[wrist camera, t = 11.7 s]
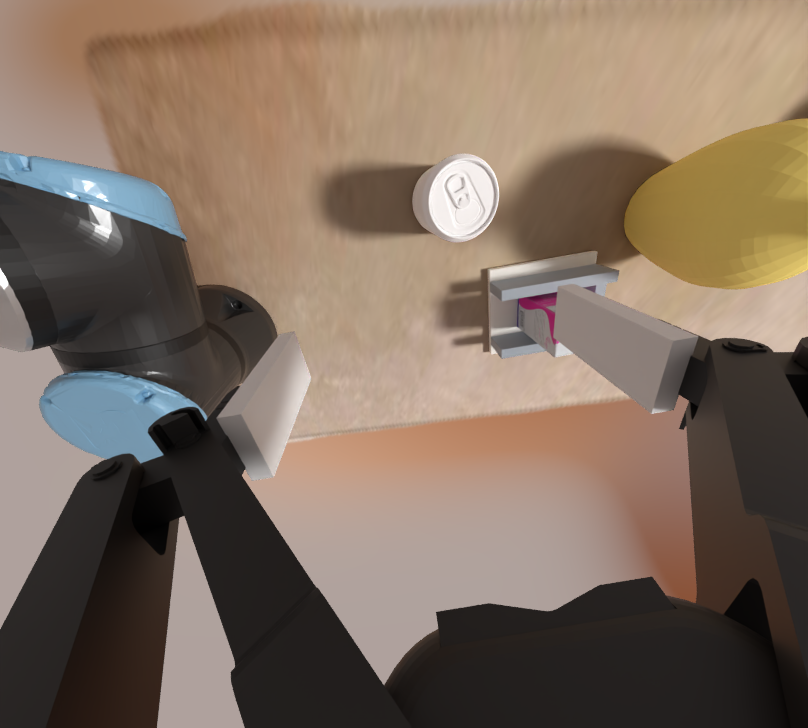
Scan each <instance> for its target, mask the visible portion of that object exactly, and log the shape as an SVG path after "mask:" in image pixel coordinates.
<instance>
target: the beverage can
mask: <svg viewBox="0 0 808 728" xmlns="http://www.w3.org/2000/svg"><path fill="white" fill-rule="evenodd" d="M498 201H499V187H498V182H497V179H496V176H495V174H494V172H493V170H492V169H491V167H490V166H489V165H488V164H487V163H486V162H485V161H484V160H482V159H481V158H479V157H477V156H475V155H471V154H456V155H452V156H449V157H447V158H445V159H444V160H442V161H441V162H439V163H438V164H436V165H435V166H433V167H431V168H430V169H428V170H427V171H426V172H425V173H424V174H423V175H422V176H421V177H420V178H419V180H418V182H417V183H416V186H415V188H414V192H413V198H412V205H413V211H414V214H415V216H416V219H417V220H418V222H419V223H420V224H421V226H422V227H424V228H425V229H426V230H428V231H429V232H431V233H433V234H435V235H436V236H438V237H440V238H441V239H444V240H446V241H450V242H464V241H468V240H470V239H473V238H475V237H476V236H478V235H479V234H481V233H482V232H483V231H484V230H485V229H486V228H487V227H488V225H489V224H490V222H491V221H492V219H493V217H494V215H495V213H496V210H497V206H498Z"/></svg>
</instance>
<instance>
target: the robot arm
mask: <svg viewBox="0 0 808 728" xmlns="http://www.w3.org/2000/svg"><path fill="white" fill-rule="evenodd" d="M185 242H187V239H186V236H185V235H184V234H183V233H182V231H181V228H180V225H179V222H178V219H177V215H176V212H175V209H174V206H173V203H172V201H171V199H170V198H169V196H168V195H167V194H166V193H165V192H164V191H163V190H162V189H161V188H160V187H158V186H157V185H155V184H153V183H151V182H149V181H147V180H144V179H141V178H138V177H134V176H131V175H127V174H123V173H119V172H114V171H110V170H106V169H101V168H96V167H91V166H86V165H81V164H76V163H71V162H66V161H60V160H54V159H48V158H43V157H37V156H30V157H27V156H24V155H21V154H13V153H7V152H3V151H0V347H3V348H7V349H11V350H15V351H18V352H25V351H31V350H34V349H38V348H42V347H46V346H50V347H51V349H52V351H53V353H54V355H55V356H56V358H57V360H58V362H59V364H60V366H61V368H62V369H63V371H64V374H63V375H60V376H58V377H56V378H55V379H53V380H52V381H51V382H50V383H49V384H48V387H46V388H45V390H44V395H43V396H41V398H40V403H39V406H40V410H41V413H42V416H43V418H44V420H45V421H46V422H47V424H48V425H49V426H50V427H51V429H52V430H54V431H55V432H56V433H57V434H58V435H59V436H60V437H61V438H63V439H64V440H66V441H67V442H69V443H70V444H72V445H74V446H76V447H78V448H80V449H81V450H83V451H85V452H88V453H91V454H94V455H97V456H99V457H102V458H105V459H107V460H104V461H101V462H100V463H99V464H97V465H95V466H94V467H92V468H91V469H90V470H89V471H88V472H87V473H85V474H84V475H83V476H82V477H81V479H80V480H79V482H78V483H77V485H76V486H75V488H74V490H73V492H72V494H71V496H70V498H69V500H68V502H67V504H66V506H65V507H64V509H63V511H62V513H61V515H60V517H59V519H58V521H57V523H56V525H55V526H54V528H53V530H52V532H51V534H50V536H49V538H48V540H47V542H46V544H45V546H44V547H43V549H42V551H41V553H40V555H39V557H38V559H37V561H36V563H35V564H34V566H33V568H32V570H31V572H30V574H29V576H28V578H27V580H26V582H25V584H24V585H23V587H22V589H21V591H20V593H19V595H18V597H17V599H16V601H15V603H14V604H13V606H12V608H11V610H10V612H9V614H8V616H7V618H6V620H5V621H4V623H3V625H2V627H1V629H0V728H157V721H158V711H159V702H160V692H161V683H162V673H163V664H164V655H165V645H166V635H167V627H168V617H169V608H170V597H171V589H172V579H173V570H174V561H175V551H176V542H177V533H178V524H179V518H180V517H182V516H185V518H186V521H187V524H188V527H189V530H190V533H191V536H192V539H193V542H194V544H195V547H196V550H197V553H198V556H199V559H200V562H201V565H202V567H203V570H204V573H205V576H206V579H207V581H208V585H209V588H210V590H211V593H212V596H213V599H214V602H215V604H216V608H217V611H218V613H219V616H220V619H221V622H222V625H223V628H224V631H225V633H226V636H227V639H228V642H229V645H230V648H231V651H232V654H233V657H234V660H235V668H234V669H233V670H232V671H231V683H232V687H233V691H234V695H235V698H236V701H237V704H238V707H239V711H240V714H241V717H242V720H243V723H244V726H245V728H808V337H805V338H802V339H801V340H800V342H799V343H798V345H797V347H796V349H795V351H794V352H773V351H772V350H771V349H770V348H769V347H768V346H765V345H764V344H761V343H758V342H754V341H750V340H745V339H737V338H722V339H716V340H713V341H710V340H708V339H705V338H703V337H701V336H698V335H696V334H693V333H691V332H689V331H686V330H682V329H681V328H679V327H677V326H674V325H671V324H669V323H667V322H665V321H662V320H660V319H656V318H654V317H651V316H649V315H647V314H644V313H642V312H639V311H637V310H635V309H632V308H630V307H627V306H625V305H623V304H620V303H618V302H616V301H613V300H611V299H608V298H606V297H604V296H601V295H599V294H597V293H594V292H592V291H589V290H587V289H585V288H582V287H580V286H578V285H575V284H569V285H563V286H558V290H557V301H556V312H555V323H554V334H553V338H555V339H556V340H557V341H558V342H560V343H561V344H562V345H564V346H565V347H566V348H567V349H569V350H570V351H571V352H573V353H574V354H575V355H576V356H578V357H579V358H580V359H582V360H583V361H584V362H586V363H587V364H588V365H589V366H591V367H592V368H593V369H595V370H596V371H597V372H598V373H600V374H601V375H602V376H604V377H605V378H606V379H607V380H609V381H610V382H611V383H613V384H614V385H615V386H616V387H618V388H619V389H620V390H622V391H623V392H624V393H625V394H627V395H628V396H629V397H631V398H632V399H633V400H634V401H636V402H637V403H638V404H640V405H641V406H642V407H644V408H645V409H646V410H647V411H649V412H650V413H651V414H653V413H658V412H664V411H671V410H674V408H675V405H676V402H677V399H678V395H681V396H682V397H684V398H686V399H687V400H689V403H688V406H687V408H686V411H685V414H684V417H683V419H682V423H681V425H680V428H679V429H684V428H685V426H687V441H688V456H689V472H690V487H691V504H692V519H693V535H694V552H695V567H696V581H697V582H696V583H697V598H696V603H692V602H690V601H687V600H683V599H679V598H675V597H671V596H666V595H665V594H664V592H663V591H662V590H661V588H660V587H659V585H658V584H657V583H656V581H655V580H654V579H653V577H647V578H641V579H635V580H629V581H623V582H616V583H611V584H604V585H599V586H597V587H595V588H593V589H592V590H590V591H588V592H586V593H585V594H583V595H581V596H579V597H577V598H576V599H574V600H572V601H571V602H569V603H567V604H565V605H563V606H561V607H560V608H558V609H556V610H553V611H540V610H532V609H525V608H518V607H511V606H503V605H496V604H482V605H476V606H470V607H464V608H458V609H452V610H446V611H440V612H436V615H437V621H438V629H437V630H436V631H434V632H432V633H430V634H429V635H427V636H426V637H424V638H423V639H422V640H420V641H419V642H418V643H416V644H415V645H414V646H413V647H412V648H411V649H410V650H409V651H408V652H407V653H406V654H405V655H404V657H403V658H402V659H401V661H400V662H399V663H398V664H397V666H396V667H395V668H394V670H393V672H392V673H391V675H390V677H389V679H388V680H387V682H386V683H385V685H383V684H382V682H381V681H380V679H379V678H378V676H377V675H376V673H375V672H374V670H373V669H372V667H371V666H370V664H369V663H368V661H367V660H366V658H365V657H364V655H363V654H362V652H361V651H360V649H359V648H358V646H357V645H356V643H355V642H354V640H353V639H352V637H351V636H350V635H349V633H348V631H347V630H346V628H345V627H344V625H343V624H342V622H341V621H340V620H339V618H338V617H337V615H336V614H335V612H334V611H333V609H332V608H331V606H330V605H329V604H328V602H327V600H326V599H325V597H324V596H323V594H322V593H321V592H320V590H319V589H318V588H316V586H315V585H314V584H313V582H312V581H311V579H310V578H309V576H308V575H307V573H306V572H305V570H304V569H303V567H302V566H301V564H300V563H299V561H298V560H297V558H296V557H295V555H294V554H293V552H292V551H291V549H290V548H289V546H288V545H287V543H286V542H285V540H284V539H283V537H282V536H281V534H280V533H279V531H278V530H277V528H276V527H275V525H274V524H273V522H272V521H271V519H270V518H269V516H268V515H267V513H266V512H265V510H264V509H263V507H262V506H261V504H260V503H259V501H258V500H257V498H256V497H255V495H254V494H253V492H252V491H251V489H250V488H249V486H248V485H247V483H246V482H245V480H244V479H243V477H242V474H243V472H244V470H246V471H247V473H248V475H249V477H250V478H251V480H252V481H254V480H260V479H266V478H272V477H274V475H275V472H276V470H277V467H278V464H279V462H280V459H281V457H282V454H283V452H284V449H285V446H286V444H287V441H288V438H289V436H290V433H291V431H292V428H293V425H294V423H295V420H296V417H297V415H298V412H299V410H300V407H301V404H302V402H303V399H304V396H305V394H306V391H307V389H308V386H309V383H310V381H311V376H310V374H309V371H308V368H307V365H306V362H305V359H304V356H303V354H302V351H301V348H300V345H299V342H298V339H297V336H296V334H295V332H289V333H283V334H279V335H278V337H277V332H276V328H275V325H274V323H273V321H272V319H271V317H270V316H269V314H268V313H267V311H266V310H265V309H264V308H263V307H262V306H261V305H260V304H259V303H258V302H257V301H256V300H254V299H253V298H252V297H250V296H249V295H247V294H245V293H243V292H241V291H239V290H237V289H234V288H231V287H227V286H221V285H206V286H201V287H197V284H196V280H195V277H194V273H193V269H192V266H191V262H190V258H189V254H188V251H187V247H186V243H185ZM241 383H242V385H241V386H238V385H239V384H241Z"/></svg>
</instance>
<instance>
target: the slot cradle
mask: <svg viewBox="0 0 808 728" xmlns="http://www.w3.org/2000/svg"><path fill="white" fill-rule="evenodd" d="M597 253H598V252H597V251H588V252H582V253H577V254H571V255H565V256H559V257H554V258H548V259H542V260H536V261H530V262H525V263H519V264H513V265H507V266H501V267H496V268H490V269H488V315H489V352H490V353H491V354H496V353H498V355H499V356H500V357H501V358H502V359H503V358H509V357H515V356H521V355H526V354H532V353H538V352H544V351H546V350H545V349H544V348H542V347H541V346H540V345H539V344H538V343H536V342H535V341H534V340H533V339H532V338H530V337H529V336H528V335H527V334H525V333H524V332H523V331H522V330H521V329H519V328H518V327H517V309H518V299H519V298H524V297H530V296H536V295H542V294H548V293H553V292H557V290H558V286H563V285H569V284H575V285H578V286H580V287H582V288H585V289H587V290H589V291H592V292H594V293H597V294H599V295H601V296H604V297H605V291H606V285H607V283H612V282H617V280H618V275H619V270H616V269H612V268H609V267H605V266H602V265H598V264H596V260H597Z"/></svg>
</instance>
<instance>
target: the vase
mask: <svg viewBox="0 0 808 728" xmlns="http://www.w3.org/2000/svg"><path fill="white" fill-rule="evenodd" d="M624 229H625V235H626V236H627V238H628V240H629V241H630V243H631V244H632V245H633V246H634V247H635V248H636V249H637V250H638V251H639V252H640V253H641V254H642V255H644V256H645V257H646V258H647V259H649V260H650V261H651V262H653V263H654V264H656V265H657V266H659V267H660V268H662V269H664V270H665V271H667V272H668V273H670V274H672V275H673V276H675V277H677V278H679V279H681V280H683V281H685V282H688V283H691V284H694V285H699V286H705V287H713V288H722V289H745V288H751V287H756V286H761V285H766V284H771V283H775V282H779V281H783V280H785V279H788V278H791V277H793V276H795V275H797V274H800V273H802V272H804V271H806V270H808V118H806V119H794V120H788V121H783V122H778V123H774V124H769V125H765V126H760V127H756V128H752V129H748V130H745V131H742V132H739V133H736V134H733V135H731V136H728V137H726V138H723V139H721V140H719V141H716V142H714V143H712V144H710V145H708V146H706V147H704V148H702V149H700V150H698V151H696V152H694V153H692V154H690V155H688V156H686V157H684V158H683V159H681V160H679V161H677V162H675V163H674V164H672V165H670V166H668V167H666V168H665V169H663V170H661V171H659V172H658V173H656V174H654V175H653V176H651V177H650V178H649V179H647V180H646V181H645V182H644V183H643V184H642V185H641V186H640V187H639V188H638V189H637V191H636V192H635V194H634V195H633V197H632V198H631V200H630V202H629V205H628V207H627V209H626V212H625V218H624Z"/></svg>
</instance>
